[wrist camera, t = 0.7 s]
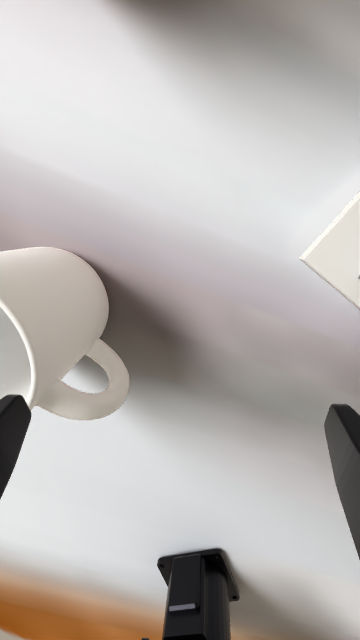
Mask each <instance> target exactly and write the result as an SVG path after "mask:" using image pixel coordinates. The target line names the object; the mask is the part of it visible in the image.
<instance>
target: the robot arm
mask: <svg viewBox="0 0 360 640" xmlns="http://www.w3.org/2000/svg"><path fill="white" fill-rule="evenodd" d="M30 420H31V411H30V409H29V407H28V405H27V403H26V401H25V399H24V397H23V396H22V395H18V394H9V395H6V396H4V397H3V398H1V399H0V499H1V497H2V494H3V492H4V490H5V488H6V486H7V483H8V481H9V479H10V477H11V474H12V472H13V470H14V467H15V464H16V462H17V459H18V456H19V453H20V450H21V447H22V444H23V441H24V438H25V435H26V432H27V429H28V426H29V423H30ZM324 428H325V434H326V439H327V444H328V449H329V454H330V458H331V463H332V468H333V473H334V478H335V482H336V487H337V490H338V493H339V497H340V500H341V503H342V506H343V509H344V512H345V515H346V519H347V522H348V525H349V528H350V531H351V534H352V537H353V540H354V544H355V547H356V550H357V553H358V556H359V559H360V415H359V414H358V413H357V412H356V411H355V410H354V409H352V408H351V407H350V406H349V405H347V404H332V405H331V406H330V408H329V411H328V414H327V417H326V420H325V424H324ZM157 566H158V568H159V570H160V572H161V574H162V576H163V578H164V580H165V582H166V584H167V586H168V594H167V602H166V611H165V619H164V627H163V636H162V640H231V635H230V612H229V602H231V601H238V600H239V599H240V596H239V591H238V588H237V586H236V584H235V581H234V579H233V577H232V574H231V572H230V570H229V567H228V565H227V563H226V560H225V558H224V555H223V553H222V551H221V550H219V549H213V550H206V551H200V552H194V553H188V554H181V555H175V556H169V557H162V558H159V559H158V563H157ZM142 640H149V638H142Z"/></svg>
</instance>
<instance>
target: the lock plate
mask: <svg viewBox="0 0 360 640" xmlns="http://www.w3.org/2000/svg"><path fill="white" fill-rule="evenodd" d="M299 259H300V260H302V261H303V262H304V263H305V264H306V265H308V266H309V267H310V268H311V269H312V270H313V271H315V272H316V273H317V274H318V275H319V276H321V277H322V278H323V279H324V280H325V281H327V282H328V283H329V284H330V285H331V286H333V287H334V288H335V289H336V290H337V291H338V292H340V293H341V294H342V295H343V296H344V297H346V298H347V299H348V300H349V301H350V302H352V303H353V304H354V305H355V306H356V307H358V308H359V309H360V279H358V276H359V275H360V192H359V193H358V194H357V195H356V196H355V197H354V198H353V199H352V200H351V202H350V203H349V204H348V205H347V206H346V207H345V208H344V209H343V210H342V211H341V213H340V214H339V215H338V216H337V217H336V218H335V219H334V220H333V221H332V223H331V224H330V225H329V226H328V227H327V228H326V229H325V230H324V231H323V232H322V234H321V235H320V236H319V237H318V238H317V239H316V240H315V241H314V242H313V244H312V245H311V246H310V247H309V248H308V249H307V250H306V251H305V252H304V253H303V255H302V256H301V257H300V258H299Z"/></svg>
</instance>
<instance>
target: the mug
mask: <svg viewBox="0 0 360 640" xmlns="http://www.w3.org/2000/svg"><path fill="white" fill-rule="evenodd" d="M108 314H109V303H108V297H107V293H106V290H105V287H104V285H103V283H102V281H101V279H100V277H99V276H98V275H97V273H96V272H95V270H94V269H93V268H92V267H91V266H90V265H89V264H88V263H87V262H85V261H84V260H83V259H81V258H80V257H78V256H77V255H75V254H73V253H71V252H69V251H66V250H63V249H58V248H54V247H32V248H24V249H17V250H9V251H2V252H0V399H1V398H3V397H4V396H6V395H9V394H18V395H22V396H23V397H24V399H25V401H26V403H27V405H28V407H29V409H30V411H31V410H32V409H33V407H35V406H39V407H41V408H43V409H45V410H47V411H49V412H51V413H53V414H56V415H58V416H61V417H65V418H68V419H74V420H93V419H99V418H103V417H105V416H108V415H110V414H111V413H113V412H114V411H116V410H117V409H118V408H119V407H120V406H121V405H122V404H123V402H124V401H125V399H126V397H127V394H128V391H129V385H130V383H129V374H128V371H127V368H126V366H125V364H124V363H123V361H122V360H121V358H120V357H119V356H118V355H117V354H116V352H115V351H114V350H113V349H111V348H110V347H109V346H108V345H107V344H106V343H105V342H103V341H102V340H101V339H99V338H100V337H101V335H102V333H103V331H104V329H105V327H106V324H107V320H108ZM84 355H87V356H88V357H90V358H91V359H93V360H94V361H95V362H97V363H98V364H99V365H100V366H101V367H102V368H103V369H104V370H105V372H106V373H107V375H108V378H109V386H108V388H107V389H106V390H105V391H103V392H101V393H95V394H92V393H85V392H81V391H79V390H76V389H74V388H72V387H70V386H68V385H67V384H65V383H64V382H63V381H61V379H62V378H63V377H64V376H65V375H66V374H67V373H68V372H69V371H70V370H71V369H72V368H73V367H74V366H75V365H76V363H77V362H78V361H79V360H80V359H81V358H82V357H83V356H84Z"/></svg>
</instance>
